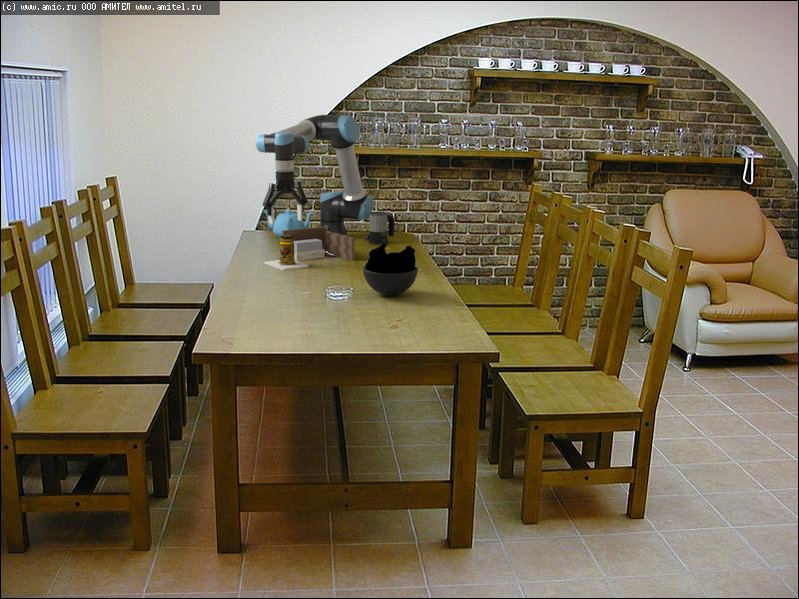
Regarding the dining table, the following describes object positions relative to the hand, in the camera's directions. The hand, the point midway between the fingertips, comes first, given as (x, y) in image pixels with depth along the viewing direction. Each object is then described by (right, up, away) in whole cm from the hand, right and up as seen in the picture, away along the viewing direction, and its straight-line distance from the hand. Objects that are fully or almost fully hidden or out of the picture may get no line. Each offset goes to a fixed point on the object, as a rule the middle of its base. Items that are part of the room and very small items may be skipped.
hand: (285, 222), depth 358 cm
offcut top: (+7, -11, +20) cm, 23 cm away
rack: (+12, -15, +18) cm, 26 cm away
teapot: (-7, -2, +68) cm, 68 cm away
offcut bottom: (+7, -14, +21) cm, 26 cm away
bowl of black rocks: (+44, -31, -43) cm, 69 cm away
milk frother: (+36, -4, +62) cm, 72 cm away
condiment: (0, -17, +4) cm, 18 cm away
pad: (0, -18, +4) cm, 18 cm away
